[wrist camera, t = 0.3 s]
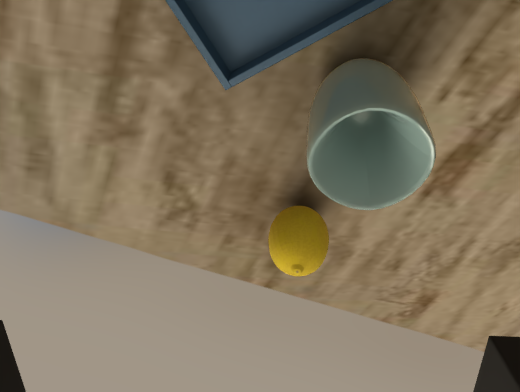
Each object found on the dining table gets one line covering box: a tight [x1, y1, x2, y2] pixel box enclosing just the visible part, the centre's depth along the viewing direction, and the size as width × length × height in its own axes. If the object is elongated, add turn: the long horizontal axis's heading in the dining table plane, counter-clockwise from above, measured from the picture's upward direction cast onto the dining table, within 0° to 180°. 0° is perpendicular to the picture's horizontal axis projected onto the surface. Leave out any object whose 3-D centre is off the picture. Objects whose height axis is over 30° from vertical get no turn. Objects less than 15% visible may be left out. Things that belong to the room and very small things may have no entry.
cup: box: [306, 58, 436, 210], centre depth 31 cm, size 8×8×10 cm
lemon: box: [268, 206, 329, 276], centre depth 40 cm, size 6×6×8 cm
